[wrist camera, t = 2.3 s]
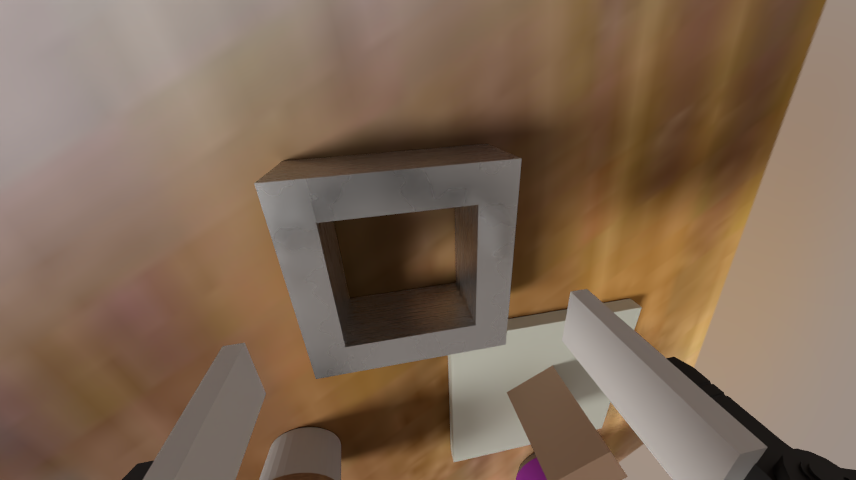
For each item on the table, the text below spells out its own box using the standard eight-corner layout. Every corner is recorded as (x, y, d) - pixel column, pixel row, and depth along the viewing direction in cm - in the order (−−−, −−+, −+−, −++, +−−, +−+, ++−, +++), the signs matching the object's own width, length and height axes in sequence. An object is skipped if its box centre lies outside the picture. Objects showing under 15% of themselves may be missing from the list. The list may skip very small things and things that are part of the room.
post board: (447, 329, 24) (482, 435, 16) (630, 298, 26) (733, 379, 18) (450, 449, 31) (476, 560, 23) (594, 417, 33) (658, 509, 26)
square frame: (282, 160, 16) (254, 183, 12) (487, 143, 18) (521, 158, 14) (325, 325, 21) (315, 378, 17) (481, 300, 23) (505, 344, 19)
